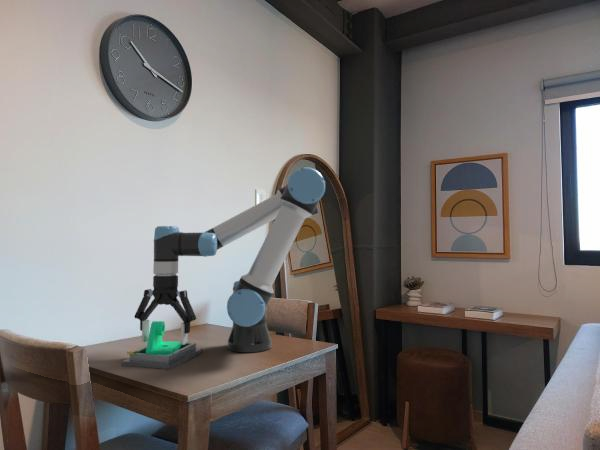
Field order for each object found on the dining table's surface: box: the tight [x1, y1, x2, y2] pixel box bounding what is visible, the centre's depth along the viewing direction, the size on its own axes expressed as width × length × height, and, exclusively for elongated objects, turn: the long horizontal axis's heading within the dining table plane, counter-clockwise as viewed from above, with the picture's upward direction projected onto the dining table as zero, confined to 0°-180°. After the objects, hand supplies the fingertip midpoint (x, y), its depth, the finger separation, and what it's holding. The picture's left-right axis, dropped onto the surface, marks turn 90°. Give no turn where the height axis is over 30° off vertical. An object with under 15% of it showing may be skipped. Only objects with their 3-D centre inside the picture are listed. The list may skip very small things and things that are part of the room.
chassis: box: [121, 340, 203, 370], centre depth 135 cm, size 16×20×4 cm
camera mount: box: [146, 320, 181, 355], centre depth 135 cm, size 12×8×10 cm, turn 2°
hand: (164, 342), depth 135 cm, fingers open, 13 cm apart
